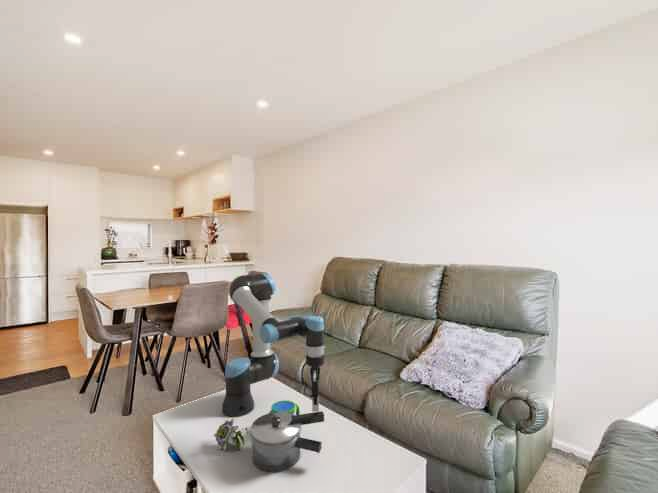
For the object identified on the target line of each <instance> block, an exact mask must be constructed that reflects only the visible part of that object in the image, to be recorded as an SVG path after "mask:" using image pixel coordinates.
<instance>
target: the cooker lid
mask: <svg viewBox="0 0 658 493" xmlns="http://www.w3.org/2000/svg"><path fill="white" fill-rule="evenodd" d="M323 422H325V414H324V411H323V410H321V411H319V412H308V413H300V414H299V415H296V414H294V415H293V414H291V413H286V412H274V413H269V412H268V413H265V414H264V415H261V416H259V417H258V418H256V419H255V420H254V421H253V422H252V424H251V425H250V435H251V439H252V438H253V439H254V440H255V441H257V442H259V443H262V444H267V445H277V444H282V443H286V442H288V441H291V440H292V439H294V438H295V437H297V436H298V434H299V433H300V434H301V430H302V426H304V425H309V424H317V423H318V424H319V423H323Z"/></svg>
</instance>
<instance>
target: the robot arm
mask: <svg viewBox="0 0 658 493" xmlns="http://www.w3.org/2000/svg"><path fill="white" fill-rule="evenodd" d="M275 291H276V284H275V281H274V279H273V276H271V275H270V274H269V273H256V274H255V273H254V274H243V275H239V276H237V277H235V278H234V279H233V280H232V281H231V282H230V284H229V287H228V293H229V294H228V295H229V298H230V300H232V302H233V303H234V304H235V305H238V306H239V307H241V309H242V310H243V312H245V313H246V314H247V316H248V318H250V319H251V320H252V321H251V324H252V325H251V326H252V343H253V344H252V345H253V349H252V350H253V351H252V352H251V353H250V358H249V357H245V356H244V357H243V356H242V357H236V358H234V359H232V360H230V361H229V362H227V364H226V365H225V372H224V377H225V381H224V382H225V396H224V399H223V402H222V405H221V410H222V414H224V415H225V416H228V417H232V418H233V417H241V416H246V415H248V414H250V413H251V412H252V411H254V408H255V400H254V398H253V395H252V392H251V386H252V385H253V384H256V383H258V382H262V381H266V380H270V379H272V378H273V377H275V376H276V375H277V374H278V373H279V368H280V363H279V362H280V361H279V359H278V355H277V354H275V352H274V350H273V349H272V348H271V344H274V343H276V342H280V341H285V340H289V339H293V338H296V337H302V338H304V339H305V364H306V366H308V367H310V370H309V372H310V381H311V394H310V398H311V413H314V412H320V410H319V409H320V395H321V391H320V387H319V386H320V384H319V381H320V374H321V366H323V365H324V364H325V355H324V354H325V349H326V348H327V347H326V346H324V345H325V324H324V323H325V321H324V318H323V317H322V316H321V315H319V316H318V315H310V316H307V317H306V318H304V317H302V316H295V315H294V316H291V317H290V318H289V319H288V320H281V321H278V319H276V318H275V316H274V315H273V314H271V312H270V311H269V302H271V300H272V296H273V295H274V294H275Z"/></svg>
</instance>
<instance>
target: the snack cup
mask: <svg viewBox="0 0 658 493" xmlns="http://www.w3.org/2000/svg"><path fill="white" fill-rule="evenodd" d="M274 412H286V413H291V414H293V415H301V413H300V407H299V405H298V404H297V403H295V402H293V401H290V400H285V399H283V400H278V401H276V402H274V403H272V404H271V408H270V411H269V412H268V414H269V413H274Z"/></svg>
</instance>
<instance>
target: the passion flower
mask: <svg viewBox="0 0 658 493" xmlns="http://www.w3.org/2000/svg"><path fill="white" fill-rule="evenodd" d="M234 423H235V419H234V418H231V419H230V421H229V420H224V422H223V423H221V425H219V427H218V428H217V430H216V432H215V433H214V434H213V438H215V440H216V442H217V446H219V448H218V450H224V451H226V449H227V448H228V445H229V444H230V445H231V444H233V443H234V444H235V448H236V450H237V451H241V444H242V446H243V447H245V443H246V440H245V437H244V435H243V432H242V431H243V430H245V431H246V434H247V435H248V434H249V430H248V427H244V428H242V429H240V430H238V429H239V427H240V426H239V425H234Z"/></svg>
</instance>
